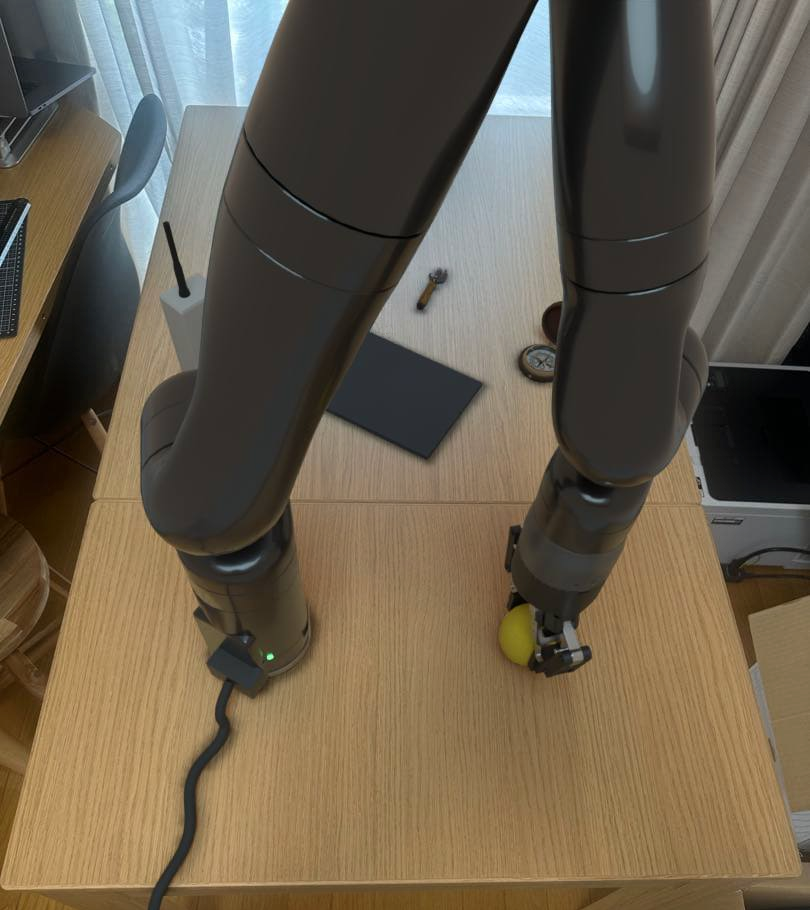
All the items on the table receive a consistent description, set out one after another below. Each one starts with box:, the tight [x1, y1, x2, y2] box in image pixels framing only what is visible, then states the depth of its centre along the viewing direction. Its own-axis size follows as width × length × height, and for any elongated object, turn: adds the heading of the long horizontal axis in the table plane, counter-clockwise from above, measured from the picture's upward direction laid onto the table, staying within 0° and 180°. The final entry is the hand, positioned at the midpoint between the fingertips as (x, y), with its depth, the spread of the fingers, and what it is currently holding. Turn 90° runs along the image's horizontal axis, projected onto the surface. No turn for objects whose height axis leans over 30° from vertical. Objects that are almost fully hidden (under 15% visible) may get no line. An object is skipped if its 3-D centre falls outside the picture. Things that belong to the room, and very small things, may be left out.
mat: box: [325, 331, 483, 461], centre depth 92 cm, size 14×22×1 cm, turn 60°
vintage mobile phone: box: [158, 220, 207, 372], centre depth 79 cm, size 4×5×25 cm
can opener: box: [416, 267, 449, 310], centre depth 102 cm, size 9×2×1 cm, turn 153°
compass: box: [518, 300, 563, 382], centre depth 93 cm, size 8×8×7 cm
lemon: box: [498, 603, 556, 667], centre depth 71 cm, size 6×6×8 cm
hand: (527, 636), depth 71 cm, fingers closed on lemon, 5 cm apart
